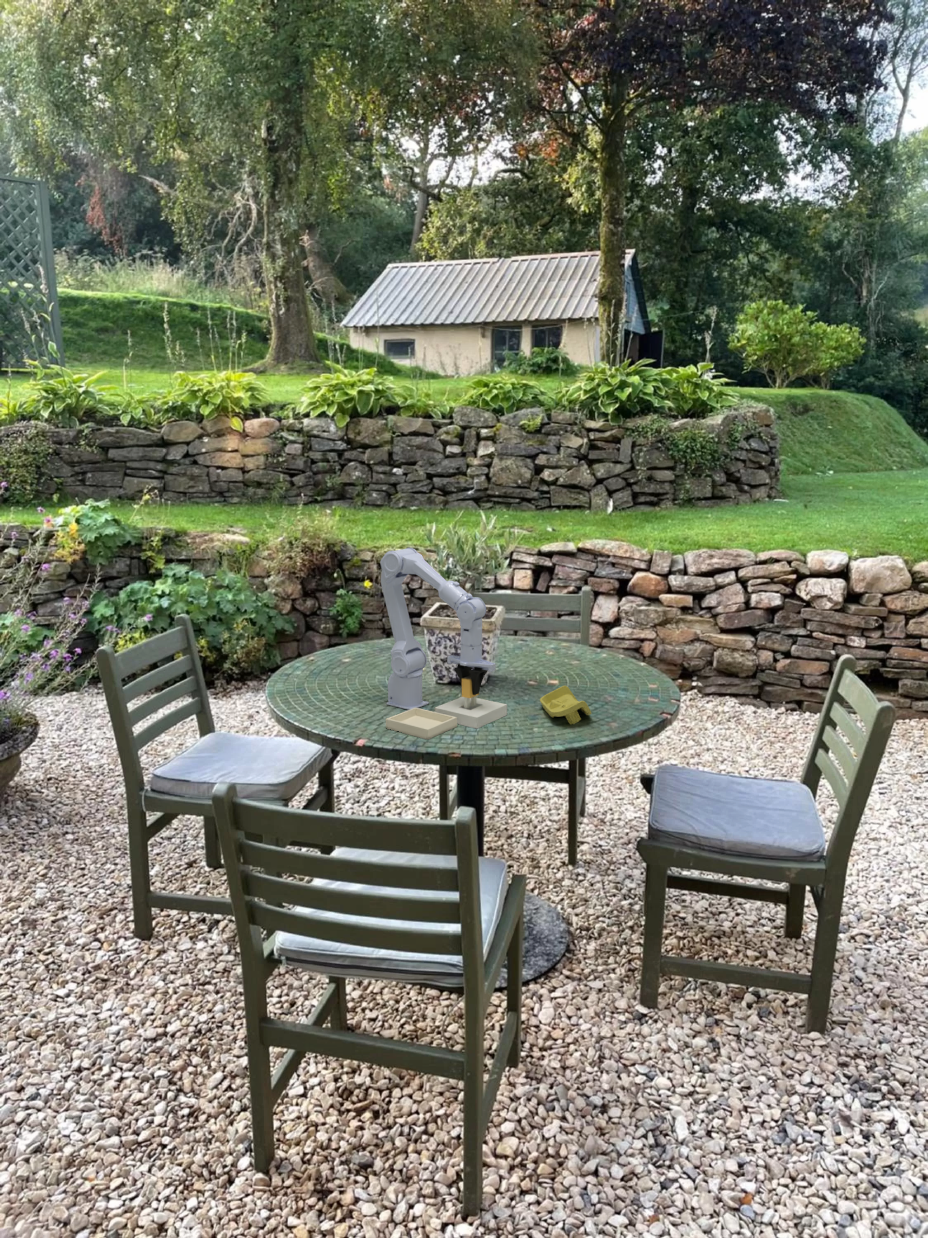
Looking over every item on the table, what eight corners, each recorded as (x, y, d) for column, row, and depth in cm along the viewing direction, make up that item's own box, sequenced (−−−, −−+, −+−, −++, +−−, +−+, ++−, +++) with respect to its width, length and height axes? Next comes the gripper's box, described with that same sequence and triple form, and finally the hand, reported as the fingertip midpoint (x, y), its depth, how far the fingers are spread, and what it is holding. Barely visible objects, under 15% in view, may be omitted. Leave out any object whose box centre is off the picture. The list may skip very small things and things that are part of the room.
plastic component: (538, 698, 232) (569, 682, 233) (549, 721, 233) (580, 705, 234) (554, 715, 213) (588, 698, 213) (566, 740, 214) (600, 722, 214)
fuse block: (434, 718, 222) (434, 707, 221) (465, 705, 233) (465, 695, 232) (477, 728, 214) (477, 717, 213) (506, 715, 225) (507, 704, 224)
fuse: (461, 707, 222) (461, 677, 220) (471, 703, 225) (471, 674, 223) (469, 709, 220) (469, 679, 218) (479, 705, 224) (479, 676, 222)
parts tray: (385, 728, 214) (385, 718, 213) (415, 716, 223) (415, 707, 223) (428, 739, 206) (427, 729, 205) (456, 726, 215) (456, 717, 215)
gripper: (440, 642, 220) (440, 691, 223) (484, 650, 212) (484, 701, 215) (456, 638, 226) (456, 685, 229) (500, 645, 217) (499, 695, 220)
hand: (470, 693), depth 222 cm, fingers closed on fuse, 3 cm apart
